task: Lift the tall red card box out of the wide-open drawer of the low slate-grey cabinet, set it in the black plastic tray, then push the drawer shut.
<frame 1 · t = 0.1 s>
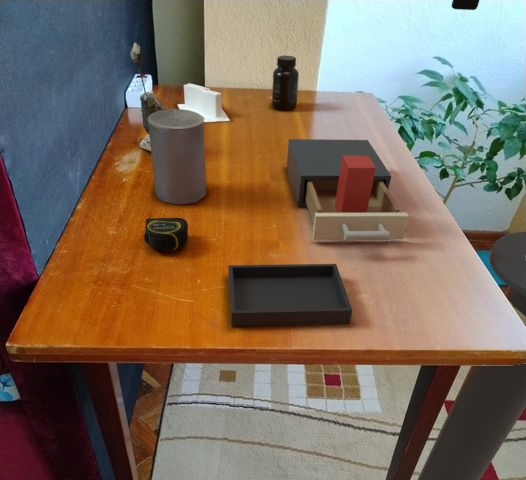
hand: (449, 2, 65), 33 cm above the table, tool pointing down, fingers open, 9 cm apart
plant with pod: (157, 149, 109), on the table
drawer: (352, 210, 85), point 3 cm above the table, slide at 12.0 cm, touching card box
cabinet: (332, 186, 98), on the table
card box: (349, 212, 86), point 2 cm above the table, touching drawer
napkin holder: (202, 113, 128), on the table
tape measure: (165, 244, 80), on the table
tray: (286, 300, 70), on the table
pillar candle: (181, 194, 93), on the table
supplement bottle: (283, 108, 133), on the table
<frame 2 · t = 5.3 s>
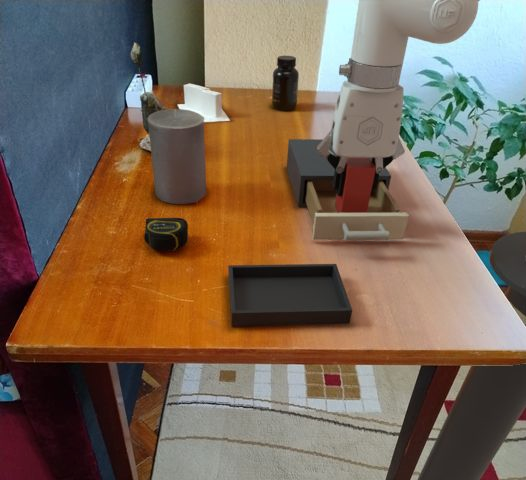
hand: (353, 191, 84), 6 cm above the table, tool pointing down, fingers closed on card box, 4 cm apart
card box: (349, 212, 86), point 2 cm above the table, touching drawer, gripper
everything else where it was.
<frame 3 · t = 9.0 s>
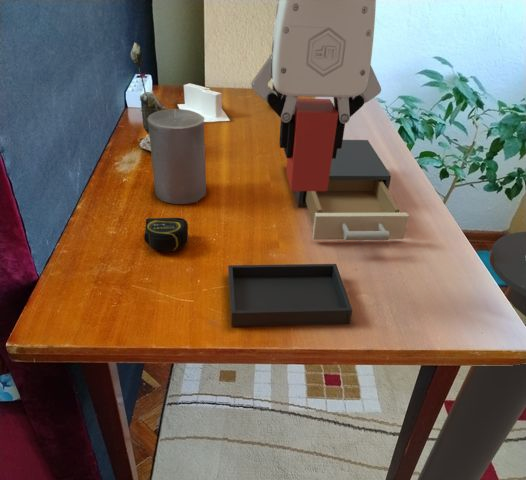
hand: (309, 152, 58), 20 cm above the table, tool pointing down, fingers closed on card box, 4 cm apart
drawer: (352, 210, 85), point 3 cm above the table, slide at 12.0 cm
card box: (306, 182, 61), point 16 cm above the table, touching gripper
everything else where it was.
when the fingers open (4 cm above the table, at t = 13.0 s): card box stays where it is, resting on tray.
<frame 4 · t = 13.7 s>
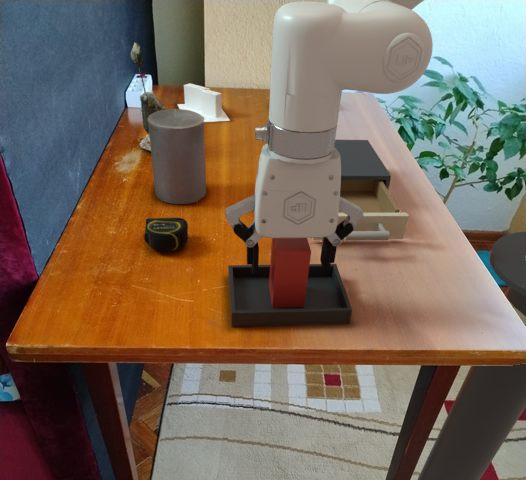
hand: (289, 267, 66), 6 cm above the table, tool pointing down, fingers open, 9 cm apart
card box: (286, 296, 70), point 1 cm above the table, touching tray
everything else where it was.
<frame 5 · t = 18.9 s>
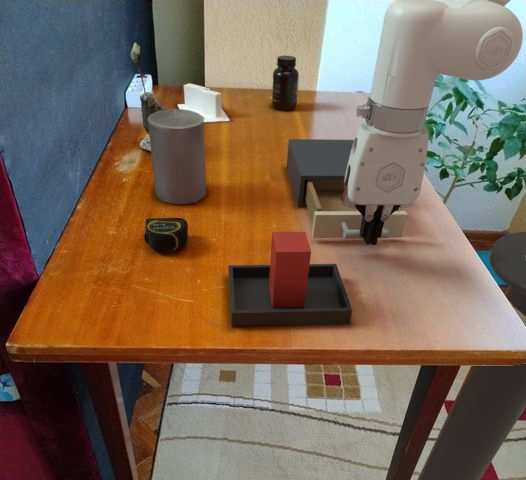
hand: (368, 240, 76), 4 cm above the table, tool pointing down, fingers closed
drawer: (351, 208, 85), point 3 cm above the table, slide at 11.5 cm, touching gripper
everything else where it was.
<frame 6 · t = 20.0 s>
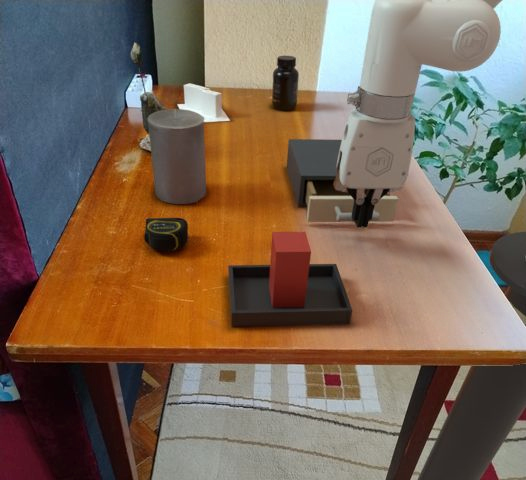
hand: (360, 223, 80), 4 cm above the table, tool pointing down, fingers closed
drawer: (345, 194, 89), point 3 cm above the table, slide at 6.0 cm, touching gripper
everything else where it was.
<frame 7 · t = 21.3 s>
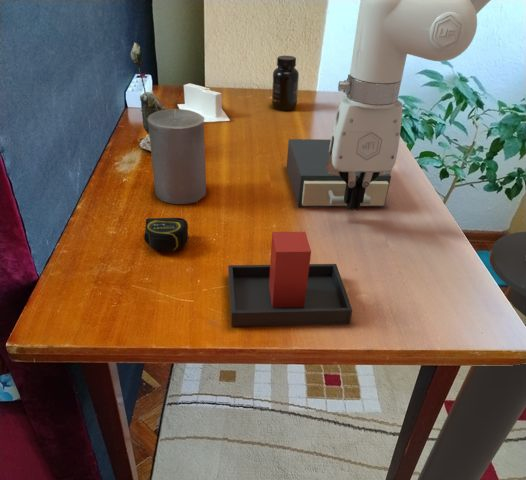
hand: (352, 206, 84), 4 cm above the table, tool pointing down, fingers closed
drawer: (338, 180, 93), point 3 cm above the table, slide at 0.0 cm, touching cabinet, gripper
everything else where it was.
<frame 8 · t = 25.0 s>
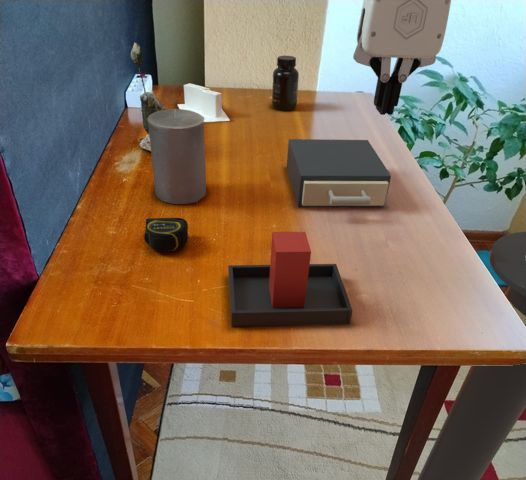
hand: (383, 111, 68), 21 cm above the table, tool pointing down, fingers closed
drawer: (338, 180, 93), point 3 cm above the table, slide at 0.0 cm
everything else where it was.
at the end: card box inside the target area in the tray (0.1 cm from its centre), point 0.6 cm above the tray's base; card box tilted 0°; drawer slide at 0.0 cm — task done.
